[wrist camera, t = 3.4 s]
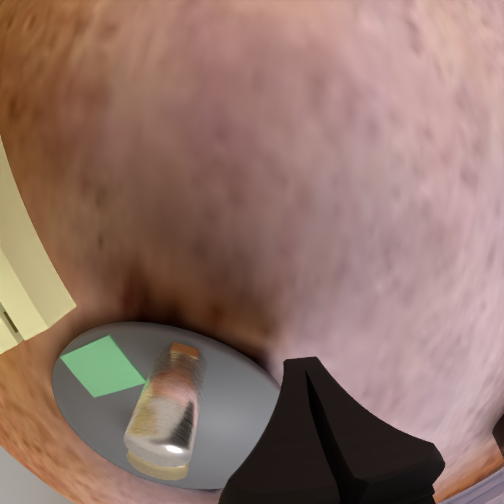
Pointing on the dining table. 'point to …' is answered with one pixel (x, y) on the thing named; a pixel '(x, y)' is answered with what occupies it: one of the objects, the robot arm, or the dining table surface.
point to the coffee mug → (499, 434)
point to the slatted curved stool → (24, 271)
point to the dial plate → (132, 383)
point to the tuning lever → (167, 414)
